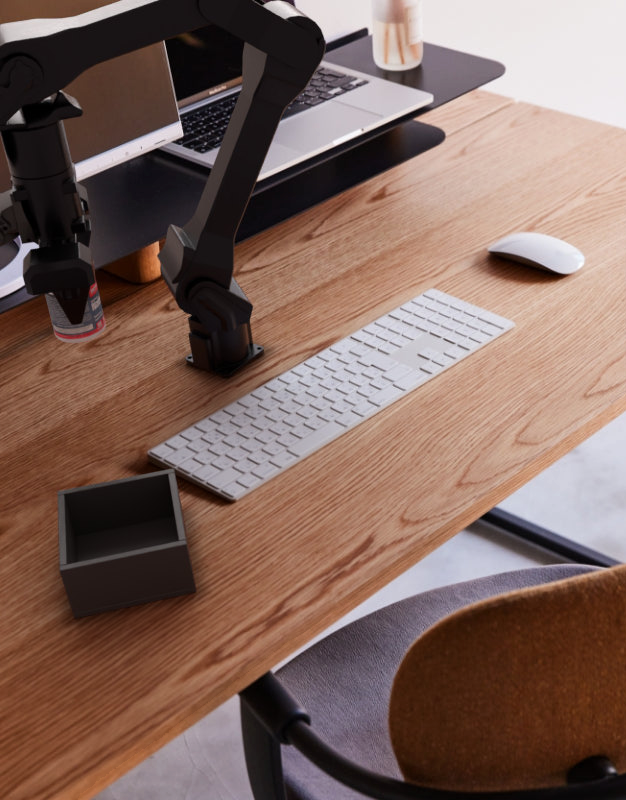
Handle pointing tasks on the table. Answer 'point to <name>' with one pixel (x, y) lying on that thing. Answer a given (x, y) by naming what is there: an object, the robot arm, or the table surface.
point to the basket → (123, 543)
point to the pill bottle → (80, 332)
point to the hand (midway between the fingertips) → (76, 309)
